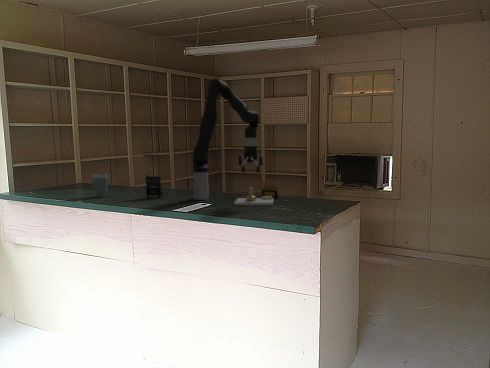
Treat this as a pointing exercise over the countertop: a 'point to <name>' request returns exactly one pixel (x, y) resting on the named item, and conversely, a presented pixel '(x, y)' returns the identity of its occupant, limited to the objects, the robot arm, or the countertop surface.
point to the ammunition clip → (270, 189)
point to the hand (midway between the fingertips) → (250, 172)
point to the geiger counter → (153, 187)
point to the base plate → (255, 201)
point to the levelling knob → (251, 195)
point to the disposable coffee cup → (100, 184)
